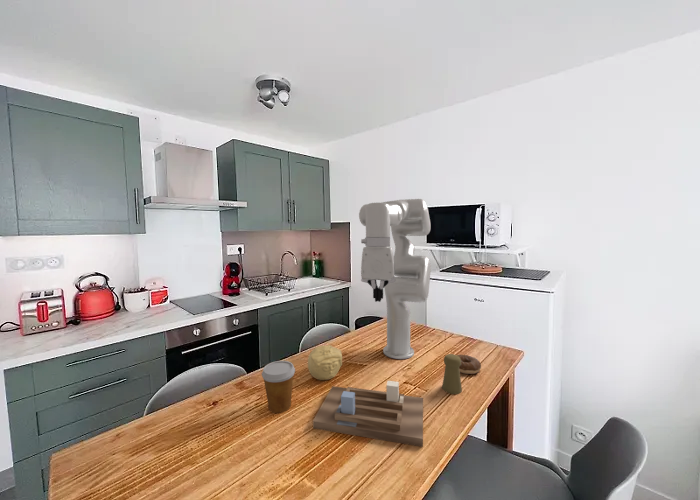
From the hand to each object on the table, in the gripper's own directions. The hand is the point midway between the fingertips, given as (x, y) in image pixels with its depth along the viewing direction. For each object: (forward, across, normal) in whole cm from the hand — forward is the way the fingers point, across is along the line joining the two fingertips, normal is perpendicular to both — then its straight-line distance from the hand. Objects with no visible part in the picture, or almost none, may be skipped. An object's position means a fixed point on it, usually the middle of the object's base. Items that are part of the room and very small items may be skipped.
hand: (378, 300), depth 92 cm
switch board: (+29, 0, -14) cm, 32 cm away
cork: (+29, +23, +5) cm, 38 cm away
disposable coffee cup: (+29, -27, -16) cm, 43 cm away
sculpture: (+29, -20, +4) cm, 36 cm away
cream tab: (+27, +6, -10) cm, 29 cm away
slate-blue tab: (+27, -5, -18) cm, 33 cm away
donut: (+30, +29, +20) cm, 46 cm away
